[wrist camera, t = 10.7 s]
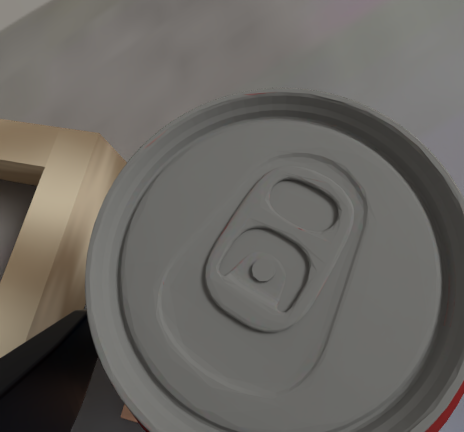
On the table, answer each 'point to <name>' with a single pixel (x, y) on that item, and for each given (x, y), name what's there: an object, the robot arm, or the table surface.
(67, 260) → the holder
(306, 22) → the table surface
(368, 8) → the table surface
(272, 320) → the beverage can
